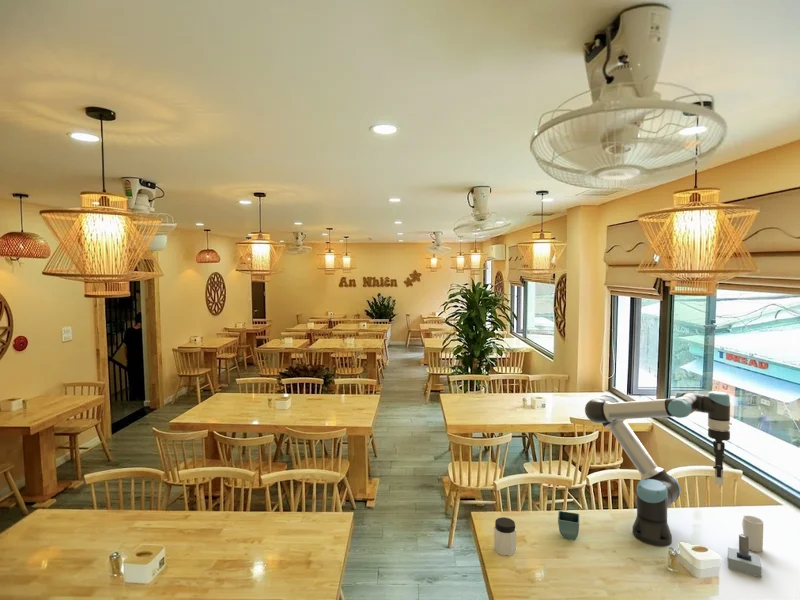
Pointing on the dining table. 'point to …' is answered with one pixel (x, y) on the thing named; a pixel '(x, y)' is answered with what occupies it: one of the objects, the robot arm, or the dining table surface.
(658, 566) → the dining table surface
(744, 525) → the beige oval cylinder
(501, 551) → the jar
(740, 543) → the peg
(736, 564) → the socket block
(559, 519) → the flower pot
